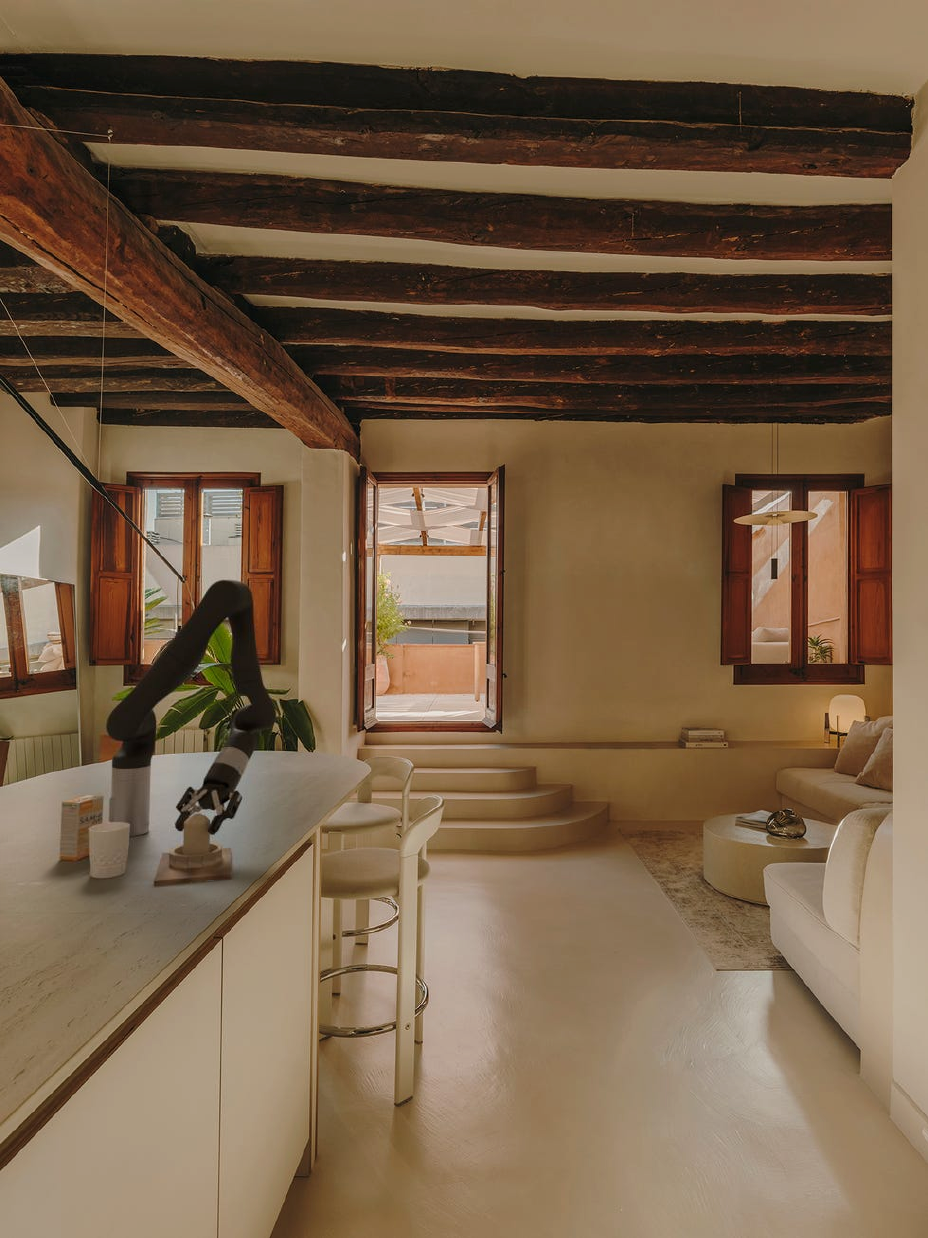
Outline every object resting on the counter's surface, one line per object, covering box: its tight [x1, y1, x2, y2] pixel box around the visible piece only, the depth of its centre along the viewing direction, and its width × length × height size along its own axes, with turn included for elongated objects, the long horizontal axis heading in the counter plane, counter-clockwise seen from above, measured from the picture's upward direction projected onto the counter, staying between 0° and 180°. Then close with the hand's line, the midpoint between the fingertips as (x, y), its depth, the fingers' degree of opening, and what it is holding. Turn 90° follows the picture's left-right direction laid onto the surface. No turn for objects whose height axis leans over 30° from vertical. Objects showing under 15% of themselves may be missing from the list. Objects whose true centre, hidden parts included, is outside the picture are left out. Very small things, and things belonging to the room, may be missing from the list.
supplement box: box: [59, 794, 104, 862], centre depth 162 cm, size 8×5×13 cm, turn 168°
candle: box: [182, 812, 211, 855], centre depth 156 cm, size 6×6×10 cm
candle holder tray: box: [153, 841, 232, 887], centre depth 154 cm, size 15×20×4 cm
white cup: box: [89, 821, 130, 879], centre depth 150 cm, size 8×8×10 cm
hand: (194, 831), depth 155 cm, fingers open, 8 cm apart
